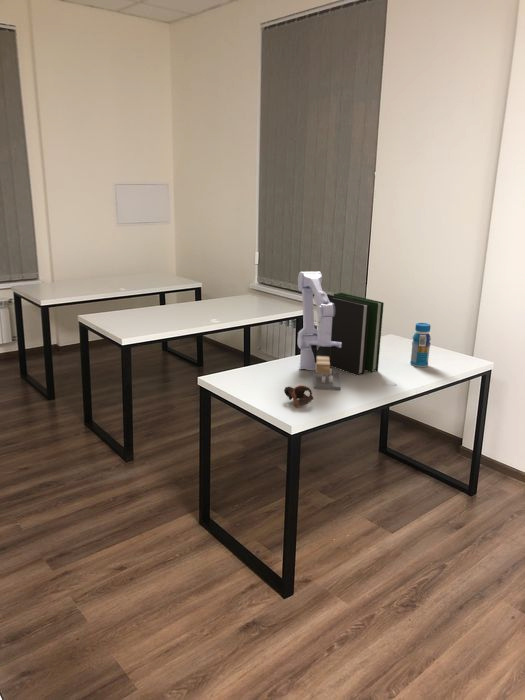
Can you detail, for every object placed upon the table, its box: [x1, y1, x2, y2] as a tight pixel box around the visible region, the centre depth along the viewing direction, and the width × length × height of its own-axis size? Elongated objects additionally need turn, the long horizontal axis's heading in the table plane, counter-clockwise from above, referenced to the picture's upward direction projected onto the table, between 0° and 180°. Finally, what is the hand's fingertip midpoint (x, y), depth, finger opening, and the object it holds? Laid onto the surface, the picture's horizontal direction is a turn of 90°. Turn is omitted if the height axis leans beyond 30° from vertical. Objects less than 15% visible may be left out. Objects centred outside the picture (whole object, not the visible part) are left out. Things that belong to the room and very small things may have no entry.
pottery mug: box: [283, 384, 314, 408], centre depth 224 cm, size 12×10×8 cm
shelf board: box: [315, 356, 331, 374], centre depth 249 cm, size 14×6×4 cm, turn 175°
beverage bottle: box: [410, 322, 432, 368], centre depth 276 cm, size 8×8×20 cm
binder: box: [317, 292, 385, 376], centre depth 270 cm, size 27×15×32 cm, turn 37°
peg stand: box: [312, 368, 342, 391], centre depth 250 cm, size 20×11×4 cm, turn 176°
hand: (322, 362), depth 249 cm, fingers closed on shelf board, 5 cm apart
